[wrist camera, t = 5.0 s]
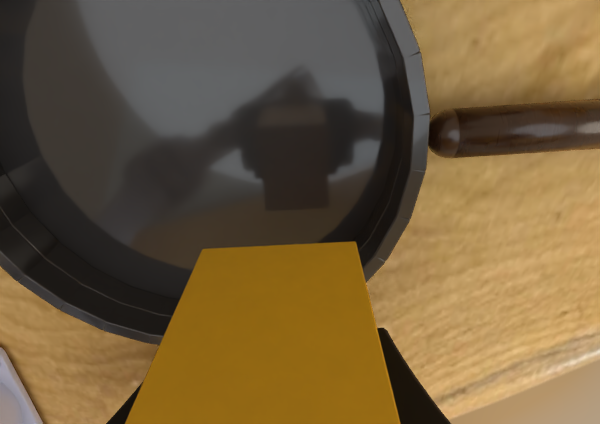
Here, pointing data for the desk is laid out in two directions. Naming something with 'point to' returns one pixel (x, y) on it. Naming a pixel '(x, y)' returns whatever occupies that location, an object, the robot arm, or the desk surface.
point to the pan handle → (516, 129)
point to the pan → (198, 141)
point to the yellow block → (271, 343)
